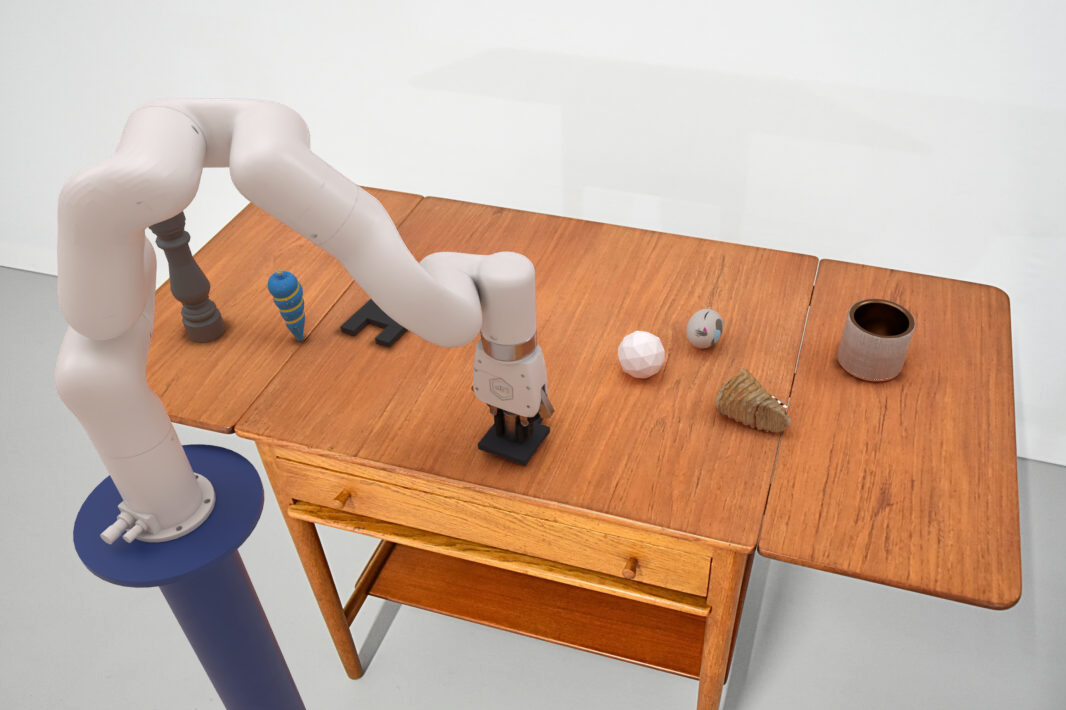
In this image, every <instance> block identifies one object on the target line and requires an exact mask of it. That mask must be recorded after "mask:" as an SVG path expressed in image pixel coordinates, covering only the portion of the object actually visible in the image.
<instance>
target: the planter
mask: <svg viewBox="0 0 1066 710" xmlns="http://www.w3.org/2000/svg"><path fill="white" fill-rule="evenodd" d="M916 323H917V322H916V319H915V316H914V315H913V314H912V313H911V312H910V311H909V310H908V309H907V308H906V307H905V306H903V305H901V304H900V303H897V302H895V301H891V300H888V299H885V298H884V299H883V298H865V299H861V300H858V301H857V302H855V303H853V304H852V305H851V306H850V308H849V309H848V311H847V316H846V320H845V324H844V328H843V331H842V335H841V338H840V342H839V345H838V348H837V361H838V363H839V365H840V366H841V367H842V369H843V370H844V371H845V372H846V373H848V374H849V375H851V376H853V377H855V378H856V379H860V380H863V381H867V382H886V381H889V380H893V379H895V378H896V377H898V376H899V374H900V373H901V372H902V370H903V368H904V365H905V361H906V359H907V355H908V352H909V348H910V344H911V342H912V339H913V335H914V332H915V328H916ZM838 358H839V359H838ZM840 362H841V363H840ZM848 370H849V371H848ZM851 372H852V373H851ZM899 372H900V373H899ZM853 373H854V374H853ZM898 373H899V374H898ZM855 374H856V375H855ZM857 375H858V376H857ZM895 375H896V376H895ZM893 376H894V377H893ZM863 377H864V378H863ZM890 377H892V378H890ZM886 378H888V379H886ZM874 379H875V380H874ZM876 379H877V380H876ZM878 379H879V380H878ZM880 379H883V380H880Z"/></svg>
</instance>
